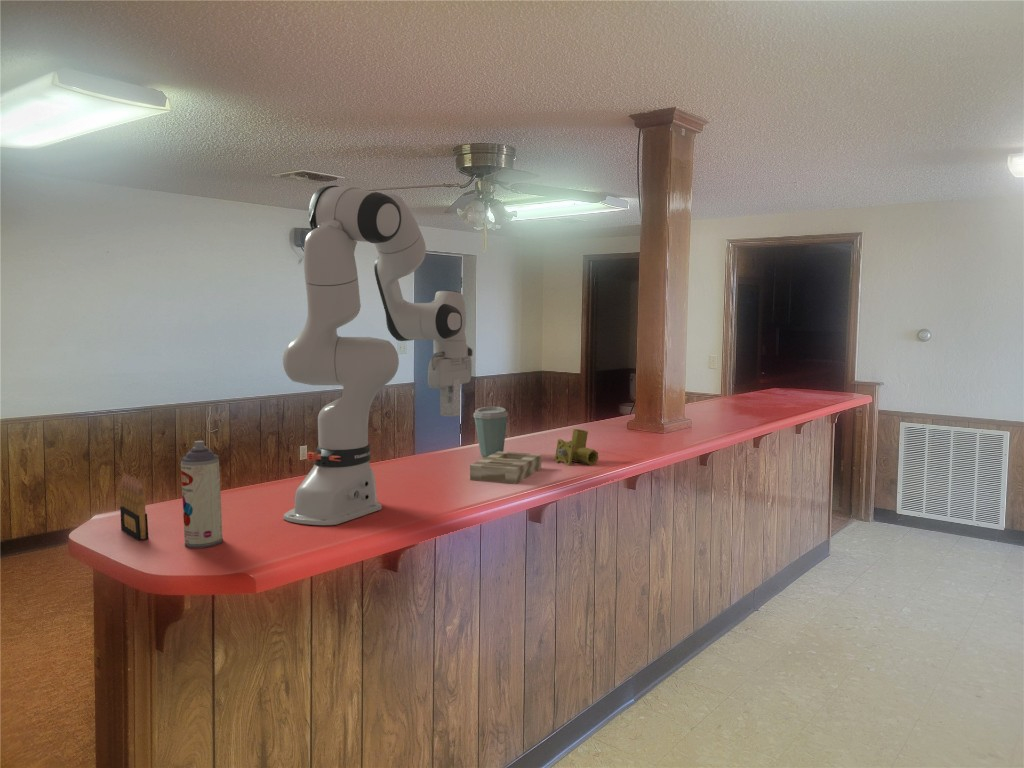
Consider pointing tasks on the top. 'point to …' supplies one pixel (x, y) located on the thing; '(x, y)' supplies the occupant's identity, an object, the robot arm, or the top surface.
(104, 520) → the top surface
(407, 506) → the top surface
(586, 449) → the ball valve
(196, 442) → the aerosol can
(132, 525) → the ammunition clip
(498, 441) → the disposable coffee cup
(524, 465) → the tan flat slatted block
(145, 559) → the top surface
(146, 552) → the top surface
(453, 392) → the square bit
